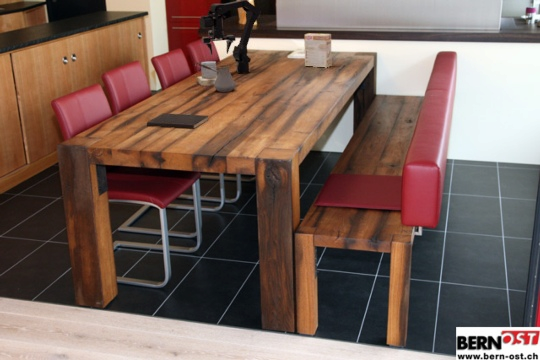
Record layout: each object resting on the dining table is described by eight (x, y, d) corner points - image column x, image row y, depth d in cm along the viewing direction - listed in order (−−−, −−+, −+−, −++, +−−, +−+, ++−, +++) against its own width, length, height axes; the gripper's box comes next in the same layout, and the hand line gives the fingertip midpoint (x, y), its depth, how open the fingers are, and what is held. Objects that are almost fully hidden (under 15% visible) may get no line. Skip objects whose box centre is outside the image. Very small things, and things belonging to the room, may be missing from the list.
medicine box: (217, 76, 393) (216, 61, 390) (215, 78, 389) (214, 62, 386) (203, 77, 394) (202, 61, 391) (201, 78, 389) (200, 63, 386)
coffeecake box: (331, 66, 424) (331, 33, 418) (326, 68, 419) (326, 35, 412) (310, 64, 432) (309, 32, 426) (304, 66, 427) (303, 34, 420)
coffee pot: (238, 88, 377) (236, 60, 372) (233, 93, 366) (231, 64, 361) (200, 87, 381) (198, 60, 376) (193, 92, 371) (191, 64, 366)
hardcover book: (163, 118, 325) (163, 113, 325) (209, 120, 318) (208, 115, 317) (147, 127, 311) (146, 122, 310) (193, 130, 304) (193, 125, 303)
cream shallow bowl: (217, 80, 399) (217, 74, 398) (222, 84, 388) (222, 78, 387) (197, 82, 396) (196, 76, 395) (201, 86, 385) (201, 80, 384)
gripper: (230, 23, 408) (231, 50, 414) (198, 26, 403) (200, 53, 409) (235, 26, 398) (236, 53, 404) (202, 28, 393) (204, 56, 399)
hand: (219, 54), depth 404 cm, fingers open, 9 cm apart
